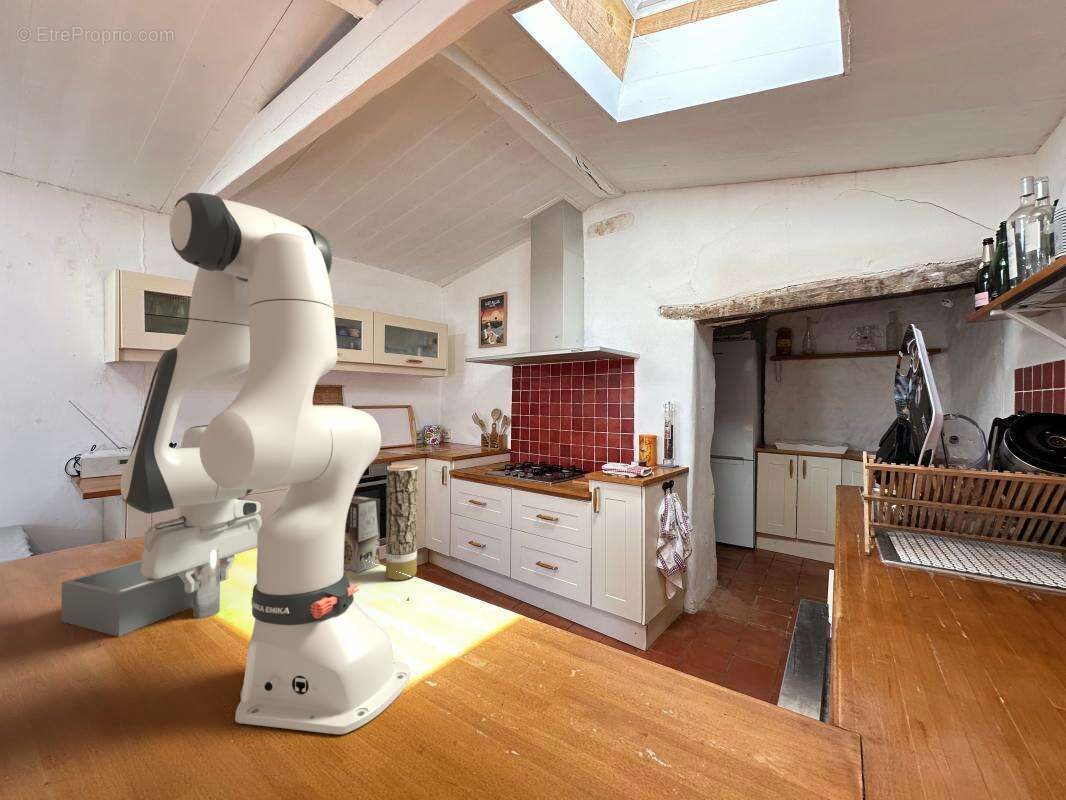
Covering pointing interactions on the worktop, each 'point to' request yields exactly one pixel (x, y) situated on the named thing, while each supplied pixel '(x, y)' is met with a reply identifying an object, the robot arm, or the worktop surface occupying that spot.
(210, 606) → the peg
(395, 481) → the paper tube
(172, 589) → the box
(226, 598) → the worktop surface
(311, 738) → the worktop surface
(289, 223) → the robot arm
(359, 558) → the coffee box
